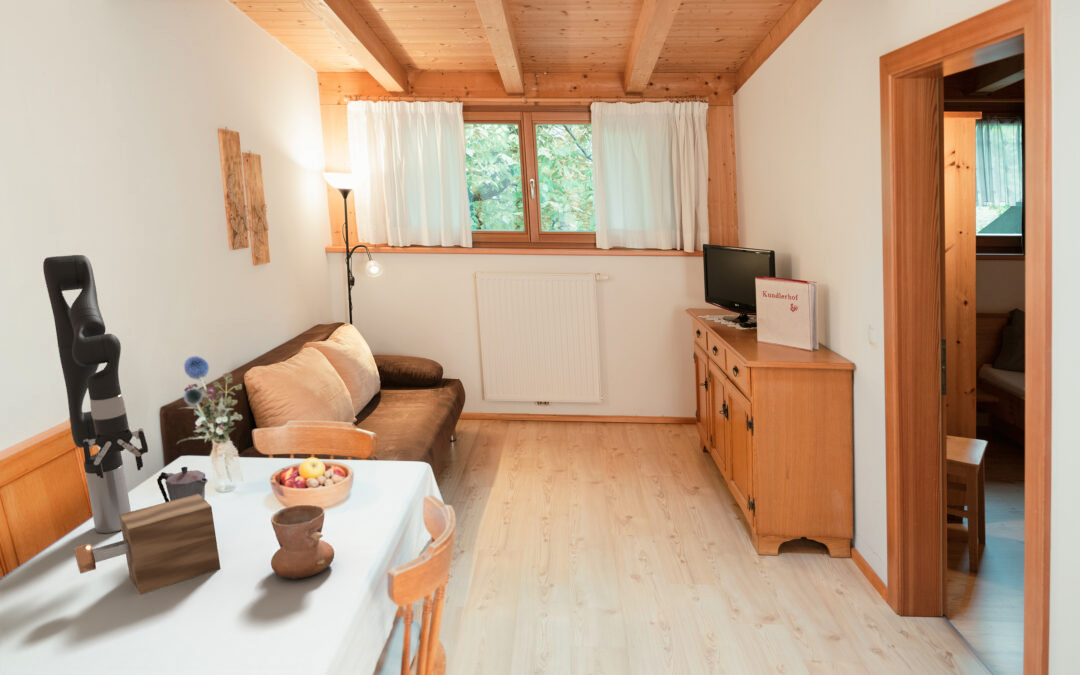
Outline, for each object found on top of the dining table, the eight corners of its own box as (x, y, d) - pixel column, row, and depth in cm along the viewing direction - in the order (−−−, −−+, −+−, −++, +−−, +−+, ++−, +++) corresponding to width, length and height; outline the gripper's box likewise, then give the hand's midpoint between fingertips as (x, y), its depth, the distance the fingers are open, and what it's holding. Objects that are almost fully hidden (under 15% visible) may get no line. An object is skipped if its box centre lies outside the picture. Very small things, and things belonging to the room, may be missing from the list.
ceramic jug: (350, 568, 192) (344, 511, 189) (296, 592, 182) (288, 532, 179) (309, 549, 204) (303, 495, 202) (256, 570, 194) (248, 514, 191)
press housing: (129, 577, 194) (119, 514, 190) (207, 553, 204) (198, 493, 201) (139, 594, 185) (128, 529, 182) (220, 568, 196) (211, 506, 192)
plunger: (77, 568, 184) (73, 543, 183) (176, 539, 197) (173, 516, 196) (82, 577, 180) (77, 552, 178) (183, 547, 192) (179, 523, 191)
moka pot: (205, 548, 207) (194, 474, 203) (152, 545, 210) (140, 473, 206) (226, 531, 216) (216, 460, 212) (175, 529, 220) (164, 459, 216)
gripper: (140, 403, 209) (150, 462, 213) (77, 414, 203) (89, 474, 207) (140, 411, 203) (151, 471, 207) (76, 423, 197) (88, 484, 201)
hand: (120, 473), depth 207 cm, fingers open, 8 cm apart
